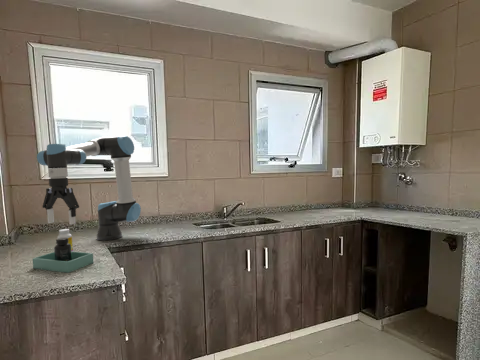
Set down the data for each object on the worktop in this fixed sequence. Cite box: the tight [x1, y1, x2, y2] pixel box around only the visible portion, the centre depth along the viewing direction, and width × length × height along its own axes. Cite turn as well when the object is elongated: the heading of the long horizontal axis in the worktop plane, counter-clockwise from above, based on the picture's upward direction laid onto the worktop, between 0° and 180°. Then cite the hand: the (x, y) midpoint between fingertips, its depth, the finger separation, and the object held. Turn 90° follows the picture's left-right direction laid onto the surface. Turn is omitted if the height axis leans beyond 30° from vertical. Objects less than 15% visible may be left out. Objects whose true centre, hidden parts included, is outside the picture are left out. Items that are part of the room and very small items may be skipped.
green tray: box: [32, 250, 94, 274], centre depth 138 cm, size 14×22×5 cm, turn 70°
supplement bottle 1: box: [56, 228, 74, 251], centre depth 158 cm, size 7×7×13 cm
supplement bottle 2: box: [53, 238, 72, 262], centre depth 138 cm, size 7×7×12 cm
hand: (61, 223), depth 138 cm, fingers open, 13 cm apart
